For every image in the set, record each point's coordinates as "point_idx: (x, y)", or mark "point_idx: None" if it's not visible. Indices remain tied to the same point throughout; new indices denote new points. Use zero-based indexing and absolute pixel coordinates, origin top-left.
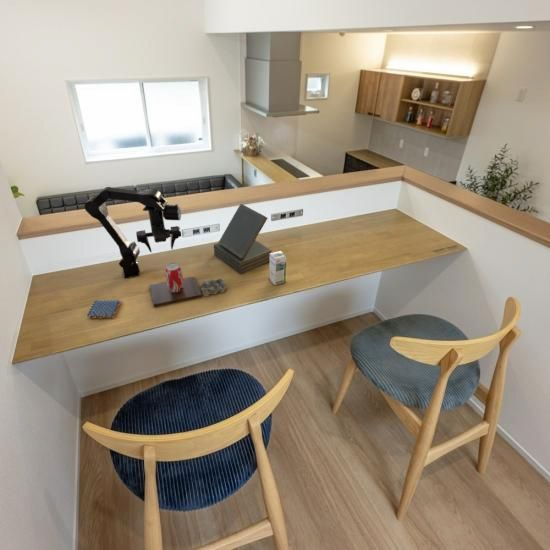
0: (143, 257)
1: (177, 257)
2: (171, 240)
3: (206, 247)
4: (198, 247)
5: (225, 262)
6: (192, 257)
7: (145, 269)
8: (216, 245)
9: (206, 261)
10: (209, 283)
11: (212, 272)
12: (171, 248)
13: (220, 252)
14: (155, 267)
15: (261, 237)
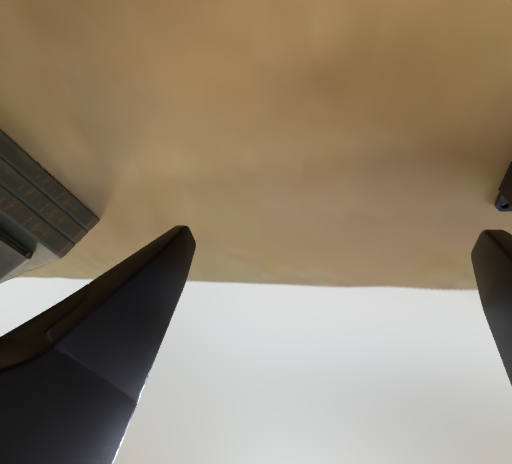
0: (414, 284)
1: (254, 243)
2: (65, 350)
3: None
4: None
5: (15, 146)
6: None
7: (446, 188)
8: (43, 247)
9: (114, 181)
10: None
11: (32, 58)
12: (177, 232)
13: (25, 203)
14: (377, 193)
15: None
